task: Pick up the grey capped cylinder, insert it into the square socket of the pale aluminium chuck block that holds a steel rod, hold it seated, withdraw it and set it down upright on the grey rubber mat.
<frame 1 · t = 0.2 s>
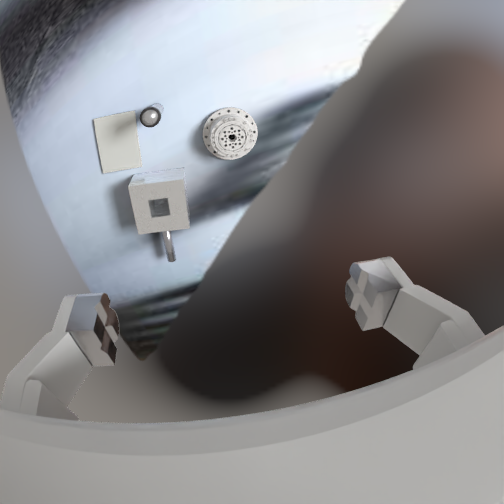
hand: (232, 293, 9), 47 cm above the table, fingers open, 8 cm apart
grey capped cylinder: (156, 109, 46), on the table
mechanical component: (229, 132, 51), on the table
mat: (118, 142, 47), on the table
chuck block: (162, 194, 56), on the table
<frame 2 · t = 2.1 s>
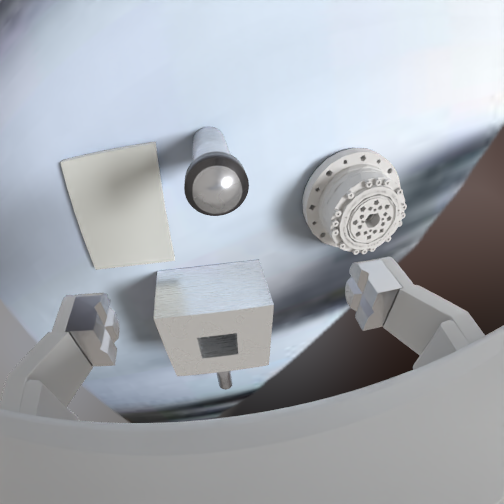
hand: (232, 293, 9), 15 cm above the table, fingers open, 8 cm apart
grey capped cylinder: (208, 141, 21), on the table
mechanical component: (349, 195, 27), on the table
mat: (120, 210, 23), on the table
chuck block: (212, 300, 31), on the table
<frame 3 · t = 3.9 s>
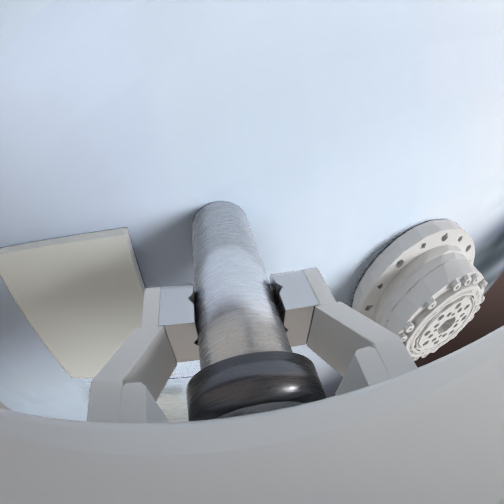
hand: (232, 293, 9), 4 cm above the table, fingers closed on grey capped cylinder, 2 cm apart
grey capped cylinder: (220, 226, 13), on the table, touching gripper
mechanical component: (411, 277, 18), on the table
mat: (88, 319, 14), on the table
chuck block: (225, 401, 23), on the table
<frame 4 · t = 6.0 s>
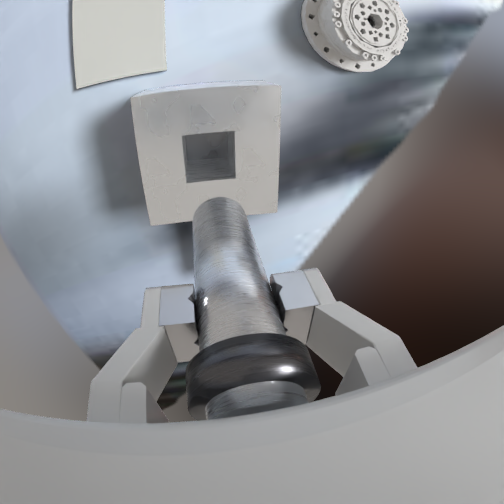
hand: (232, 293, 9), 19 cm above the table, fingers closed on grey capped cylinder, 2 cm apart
grey capped cylinder: (219, 221, 13), point 15 cm above the table, touching gripper
mechanical component: (349, 24, 20), on the table
mat: (117, 20, 16), on the table
chuck block: (206, 136, 24), on the table
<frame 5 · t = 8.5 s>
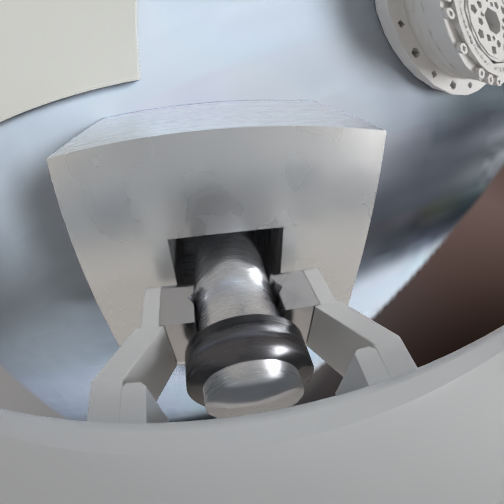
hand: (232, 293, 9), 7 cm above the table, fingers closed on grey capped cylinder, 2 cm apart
grey capped cylinder: (218, 215, 13), point 2 cm above the table, touching gripper
mechanical component: (435, 17, 10), on the table
chuck block: (215, 200, 15), on the table
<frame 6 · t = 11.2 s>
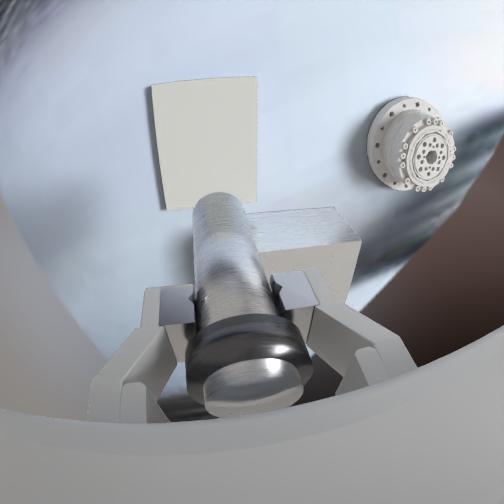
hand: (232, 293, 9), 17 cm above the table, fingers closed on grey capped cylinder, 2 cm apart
grey capped cylinder: (218, 215, 14), point 12 cm above the table, touching gripper
mechanical component: (403, 141, 26), on the table
mat: (207, 143, 23), on the table
chuck block: (283, 252, 31), on the table
when the fingers open (6 cm above the table, at t = 13.3 s): grey capped cylinder stays where it is, resting on mat.
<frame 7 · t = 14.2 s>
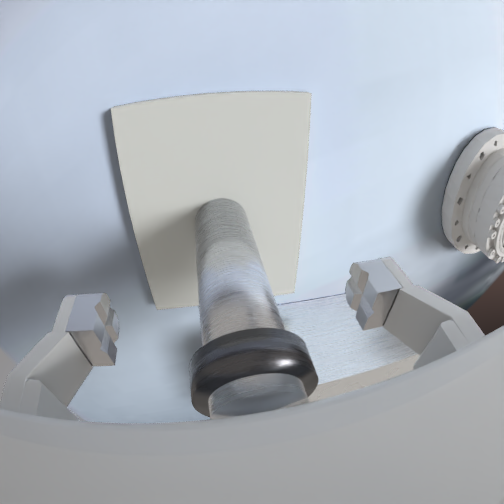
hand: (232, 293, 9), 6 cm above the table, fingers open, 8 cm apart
grey capped cylinder: (220, 221, 13), point 1 cm above the table, touching mat
mechanical component: (480, 187, 16), on the table
mat: (217, 210, 14), on the table
chuck block: (320, 340, 22), on the table
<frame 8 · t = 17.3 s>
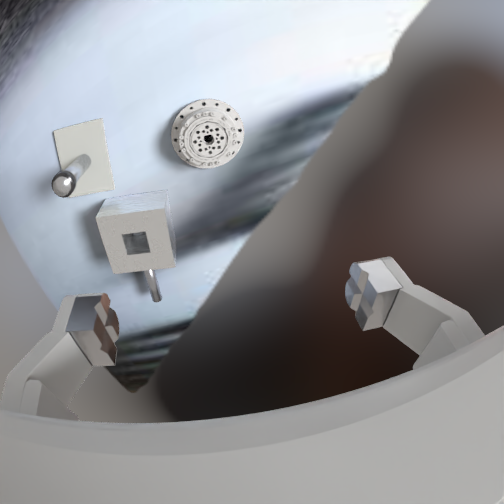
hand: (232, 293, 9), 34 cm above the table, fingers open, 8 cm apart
grey capped cylinder: (83, 161, 36), point 1 cm above the table, touching mat
mechanical component: (207, 132, 38), on the table
mat: (84, 158, 36), on the table
chuck block: (141, 222, 44), on the table
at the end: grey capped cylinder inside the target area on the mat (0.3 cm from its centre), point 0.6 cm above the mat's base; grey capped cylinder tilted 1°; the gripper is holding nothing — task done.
